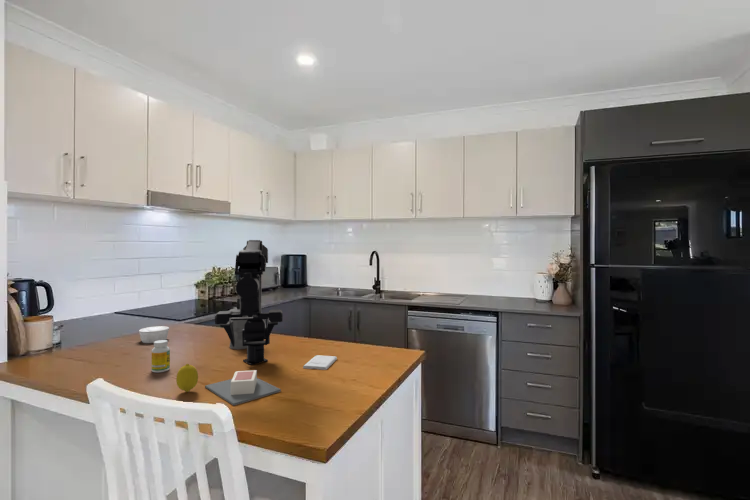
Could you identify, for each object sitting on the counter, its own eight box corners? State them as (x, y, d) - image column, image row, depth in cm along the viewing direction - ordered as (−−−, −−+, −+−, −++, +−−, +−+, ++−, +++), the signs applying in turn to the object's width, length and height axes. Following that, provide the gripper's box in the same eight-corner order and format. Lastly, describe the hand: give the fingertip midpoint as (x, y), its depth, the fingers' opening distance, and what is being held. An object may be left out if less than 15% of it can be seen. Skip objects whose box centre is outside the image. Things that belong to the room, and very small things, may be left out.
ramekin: (132, 343, 163) (132, 330, 163) (152, 337, 174) (152, 325, 174) (156, 344, 162) (156, 332, 161) (174, 338, 173) (174, 326, 173)
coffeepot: (259, 347, 158) (259, 303, 157) (236, 352, 151) (237, 305, 151) (242, 340, 169) (242, 299, 169) (220, 344, 162) (220, 301, 162)
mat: (205, 387, 113) (205, 385, 113) (249, 376, 123) (249, 374, 123) (233, 405, 101) (233, 403, 101) (280, 391, 111) (280, 389, 111)
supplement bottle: (152, 369, 130) (152, 340, 130) (170, 366, 132) (170, 338, 132) (150, 373, 125) (150, 344, 125) (169, 371, 127) (169, 342, 127)
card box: (230, 394, 106) (230, 381, 106) (235, 383, 115) (235, 371, 115) (253, 393, 108) (253, 380, 108) (256, 382, 116) (256, 369, 116)
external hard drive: (336, 360, 143) (326, 371, 130) (315, 359, 144) (303, 369, 132) (336, 356, 142) (326, 366, 130) (315, 355, 144) (303, 365, 132)
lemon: (181, 388, 112) (181, 361, 112) (200, 388, 113) (201, 360, 113) (172, 396, 107) (172, 367, 107) (193, 395, 107) (193, 366, 107)
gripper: (282, 288, 125) (282, 337, 125) (220, 290, 121) (220, 340, 121) (282, 293, 114) (282, 346, 115) (214, 295, 110) (214, 350, 110)
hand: (250, 345), depth 115 cm, fingers open, 9 cm apart
